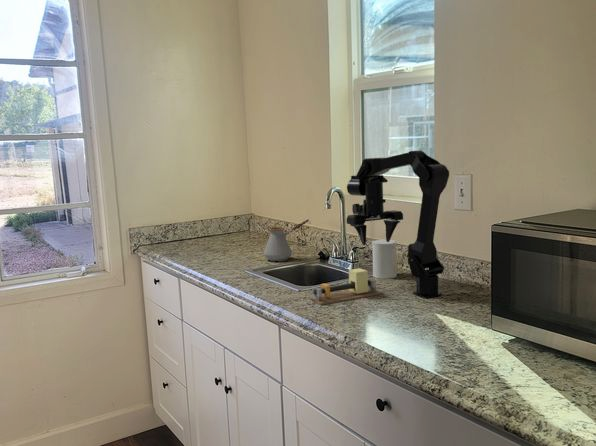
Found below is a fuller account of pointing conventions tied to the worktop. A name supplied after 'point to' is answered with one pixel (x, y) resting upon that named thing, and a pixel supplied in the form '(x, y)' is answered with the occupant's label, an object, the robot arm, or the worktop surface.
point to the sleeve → (358, 280)
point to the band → (326, 290)
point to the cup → (384, 259)
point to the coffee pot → (279, 244)
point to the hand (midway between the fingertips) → (376, 243)
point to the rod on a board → (342, 293)
